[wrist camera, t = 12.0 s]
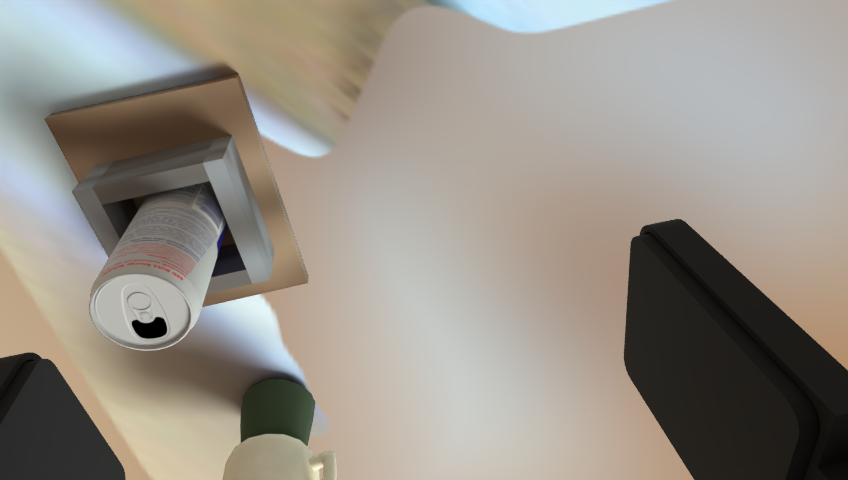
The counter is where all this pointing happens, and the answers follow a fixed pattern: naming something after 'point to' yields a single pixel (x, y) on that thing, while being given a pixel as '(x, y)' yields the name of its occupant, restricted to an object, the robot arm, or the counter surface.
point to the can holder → (185, 176)
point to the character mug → (277, 436)
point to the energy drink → (160, 269)
